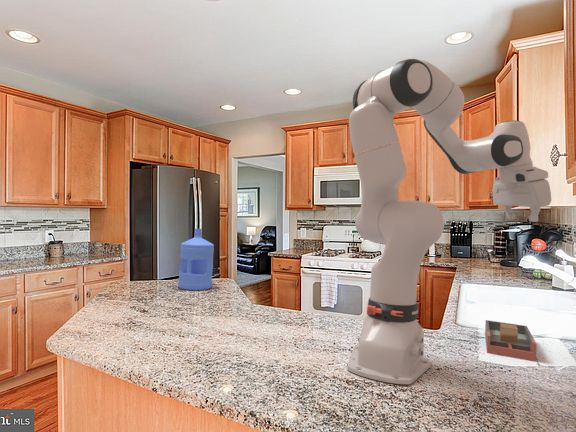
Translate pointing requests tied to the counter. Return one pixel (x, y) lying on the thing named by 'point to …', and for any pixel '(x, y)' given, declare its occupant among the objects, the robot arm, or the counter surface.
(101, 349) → the counter surface
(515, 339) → the maple block
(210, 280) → the water jug
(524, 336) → the box
